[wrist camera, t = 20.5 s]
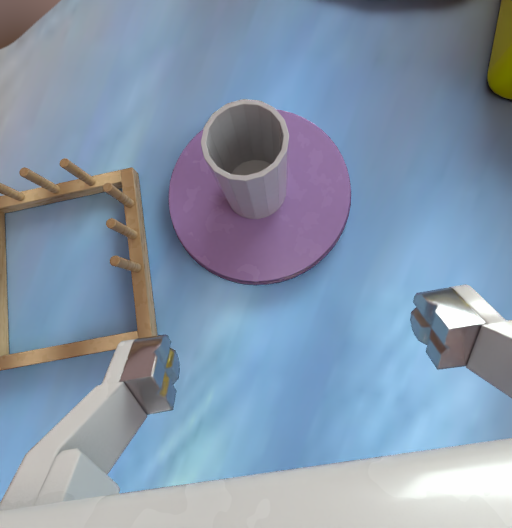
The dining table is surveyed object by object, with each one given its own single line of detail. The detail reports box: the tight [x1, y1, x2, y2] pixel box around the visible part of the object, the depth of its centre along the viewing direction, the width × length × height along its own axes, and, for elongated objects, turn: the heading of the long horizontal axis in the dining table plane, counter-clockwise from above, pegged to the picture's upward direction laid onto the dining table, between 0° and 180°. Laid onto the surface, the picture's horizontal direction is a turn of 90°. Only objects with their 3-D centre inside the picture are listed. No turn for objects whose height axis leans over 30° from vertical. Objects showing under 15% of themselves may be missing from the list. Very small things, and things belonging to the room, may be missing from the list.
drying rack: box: [0, 159, 157, 371], centre depth 26 cm, size 15×16×5 cm
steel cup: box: [201, 99, 289, 219], centre depth 23 cm, size 6×6×8 cm
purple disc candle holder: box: [169, 110, 351, 285], centre depth 27 cm, size 16×16×1 cm
